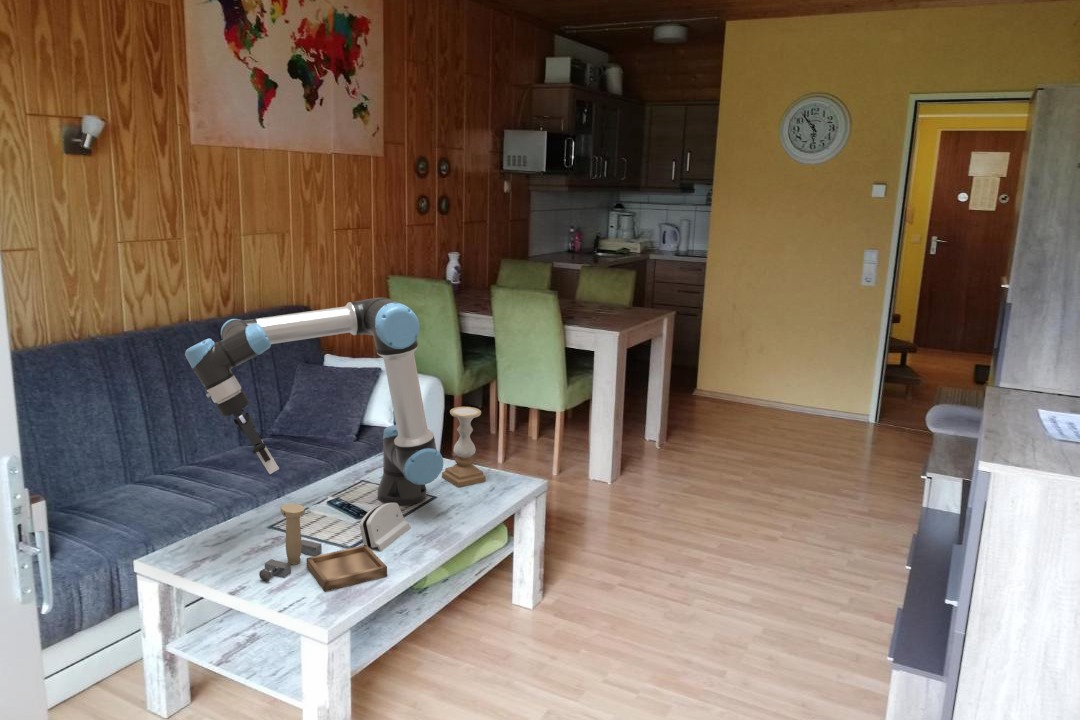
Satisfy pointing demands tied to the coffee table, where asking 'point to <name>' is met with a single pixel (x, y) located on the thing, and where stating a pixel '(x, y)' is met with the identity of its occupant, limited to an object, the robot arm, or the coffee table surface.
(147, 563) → the coffee table surface
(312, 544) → the block
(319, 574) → the tray
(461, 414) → the candle holder
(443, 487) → the coffee table surface
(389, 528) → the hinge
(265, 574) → the vise jaw outer
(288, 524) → the handle
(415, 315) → the robot arm
